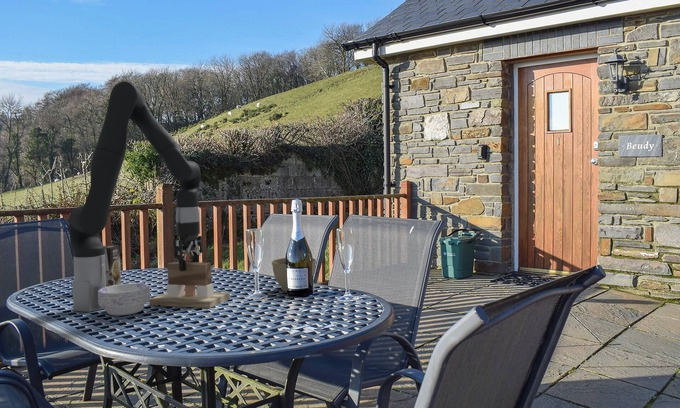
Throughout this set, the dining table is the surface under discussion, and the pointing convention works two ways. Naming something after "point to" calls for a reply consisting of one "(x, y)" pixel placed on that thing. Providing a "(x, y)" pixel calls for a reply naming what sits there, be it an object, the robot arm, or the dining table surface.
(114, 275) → the coffee box
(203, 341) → the dining table surface
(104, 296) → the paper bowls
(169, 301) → the display stand
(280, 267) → the planter bowl
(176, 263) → the walnut bar
